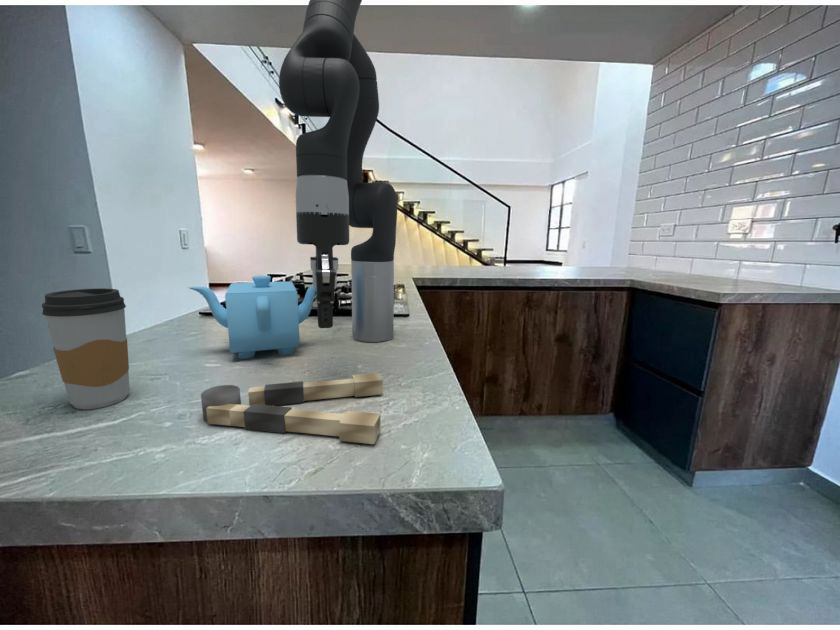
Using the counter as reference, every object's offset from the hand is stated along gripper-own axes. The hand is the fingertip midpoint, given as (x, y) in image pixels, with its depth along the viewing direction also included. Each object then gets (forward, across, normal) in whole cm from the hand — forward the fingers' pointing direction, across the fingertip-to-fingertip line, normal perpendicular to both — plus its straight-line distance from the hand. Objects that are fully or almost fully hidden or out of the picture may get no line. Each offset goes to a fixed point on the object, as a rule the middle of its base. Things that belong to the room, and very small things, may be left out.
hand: (325, 327), depth 59 cm
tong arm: (+9, +6, -1) cm, 11 cm away
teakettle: (+9, -21, -11) cm, 25 cm away
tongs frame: (+9, +13, -5) cm, 17 cm away
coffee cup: (+9, 0, -30) cm, 32 cm away
